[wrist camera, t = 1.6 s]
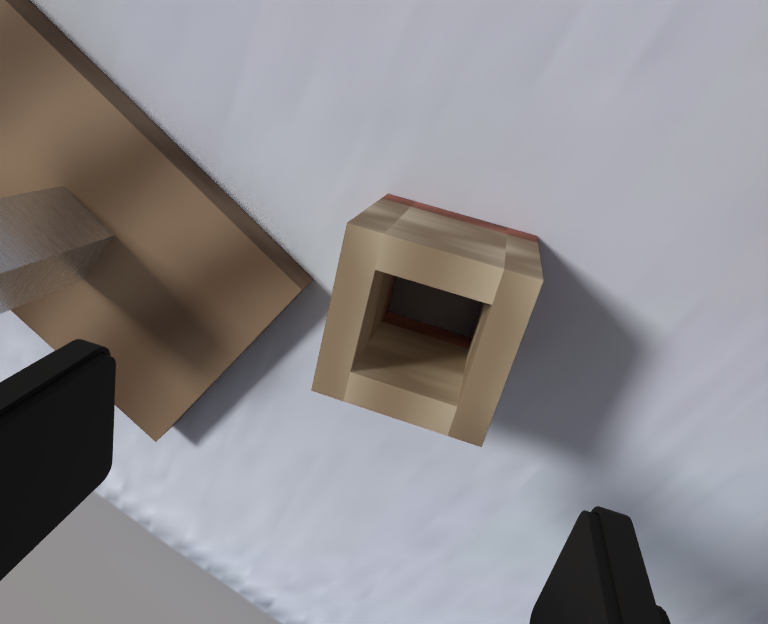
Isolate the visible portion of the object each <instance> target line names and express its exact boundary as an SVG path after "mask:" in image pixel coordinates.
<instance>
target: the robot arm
mask: <svg viewBox="0 0 768 624" xmlns="http://www.w3.org/2000/svg"><path fill="white" fill-rule="evenodd" d="M115 378H116V361H115V359H114V358H113V357H111V355H110V351H109V349H108V348H106V347H104V346H101V345H98V344H95V343H92V342H89V341H86V340H83V339H76V340H73V341H71V342H69V343H68V344H66V345H64V346H63V347H61V348H59V349H57V350H56V351H54V352H52V353H50V354H49V355H47V356H45V357H43V358H42V359H40V360H38V361H37V362H35V363H33V364H31V365H30V366H28V367H26V368H24V369H23V370H21V371H19V372H17V373H16V374H14V375H12V376H11V377H9V378H7V379H5V380H4V381H2V382H0V581H1V580H2V579H3V578H4V577H5V576H6V575H7V574H8V573H9V572H10V571H11V570H12V569H13V568H14V567H15V566H16V565H17V564H18V563H19V562H20V561H21V560H22V559H23V558H24V557H25V556H26V555H27V554H28V553H30V551H32V550H33V549H34V547H36V546H37V545H38V544H39V543H40V542H41V541H42V540H43V539H44V538H45V537H46V536H47V535H48V534H49V533H50V532H51V531H52V530H53V529H54V528H55V527H56V526H57V525H58V524H59V523H60V522H61V521H63V520H64V519H65V518H66V517H67V516H68V515H69V514H70V513H71V512H72V511H73V510H74V509H75V508H76V507H77V506H78V505H79V504H80V503H81V502H82V501H83V500H84V499H85V498H86V497H87V496H88V495H89V494H90V493H91V492H93V491H94V490H95V489H96V488H97V487H98V486H99V485H100V484H101V483H102V482H103V481H104V480H105V478H106V477H107V475H108V473H109V471H110V469H111V466H112V455H113V429H114V404H115ZM530 624H670V621H669V618H668V616H667V614H666V612H665V611H664V610H663V609H662V607H660V606H657V605H656V603H655V599H654V596H653V592H652V589H651V585H650V582H649V579H648V575H647V572H646V568H645V565H644V561H643V558H642V554H641V551H640V548H639V544H638V541H637V537H636V534H635V530H634V527H633V523H632V521H631V519H630V517H628V516H627V515H624V514H621V513H618V512H614V511H611V510H608V509H605V508H602V507H599V506H597V507H595V508H594V509H593V510H592V511H591V512H588V511H582V512H581V514H580V515H579V517H578V519H577V521H576V523H575V525H574V527H573V529H572V531H571V533H570V535H569V537H568V539H567V541H566V543H565V545H564V547H563V549H562V551H561V553H560V555H559V557H558V559H557V561H556V563H555V565H554V567H553V569H552V571H551V574H550V576H549V578H548V580H547V582H546V584H545V586H544V588H543V590H542V592H541V594H540V596H539V598H538V600H537V602H536V604H535V606H534V608H533V610H532V614H531V618H530Z"/></svg>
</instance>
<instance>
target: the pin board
mask: <svg viewBox="0 0 768 624" xmlns="http://www.w3.org/2000/svg"><path fill="white" fill-rule="evenodd" d="M60 186H64V187H65V188H66V189H67V190H68V191H70V192H71V193H72V194H73V195H74V196H75V197H76V198H77V199H78V200H79V201H80V202H81V203H82V204H83V205H84V206H85V207H86V208H87V209H89V210H90V211H91V212H92V213H93V214H94V215H95V216H96V217H97V218H98V219H99V220H100V221H101V222H102V223H103V224H104V225H105V226H106V227H107V228H109V229H110V230H111V231H112V232H113V233H114V234H115V237H114V238H113V239H112V241H111V242H110V244H109V245H108V246H107V248H106V249H105V251H104V252H103V254H102V255H101V256H100V258H99V259H98V261H97V262H96V263H95V265H94V266H93V268H92V269H91V270H90V272H89V273H88V275H87V276H86V277H85V279H84V280H81V281H79V282H77V283H74V284H72V285H69V286H67V287H64V288H62V289H60V290H57V291H55V292H52V293H50V294H47V295H45V296H43V297H40V298H38V299H35V300H33V301H30V302H28V303H26V304H23V305H21V306H18V307H16V308H13V309H11V311H12V312H13V313H14V314H16V315H17V316H18V317H19V318H20V319H21V320H22V321H23V322H24V323H25V324H27V325H28V326H29V327H30V328H31V329H32V330H33V331H34V332H35V333H36V334H38V335H39V336H40V337H41V338H42V339H43V340H44V341H45V342H46V343H47V344H49V345H50V346H51V347H52V348H53V349H54V350H55V351H56V350H57V349H59V348H61V347H63V346H64V345H66V344H68V343H69V342H71V341H73V340H76V339H83V340H86V341H89V342H92V343H95V344H98V345H101V346H104V347H106V348H108V349H109V351H110V355H111V357H113V358H114V359H115V361H116V378H115V405H116V406H117V407H118V408H119V409H120V410H121V411H122V412H123V413H124V414H126V415H127V416H128V417H129V418H130V419H131V420H132V421H133V422H134V423H135V424H137V425H138V426H139V427H140V428H141V429H142V430H143V431H144V432H145V433H146V434H148V435H149V436H150V437H151V438H152V439H153V440H154V441H155V442H156V441H157V440H158V439H159V438H161V437H162V436H163V435H164V434H165V433H166V432H167V431H168V430H169V429H170V428H171V427H172V426H173V425H174V424H175V423H176V422H177V421H178V420H179V419H180V418H181V417H182V416H183V415H184V414H185V413H186V412H187V411H188V410H189V409H190V407H191V406H192V405H193V404H194V403H195V402H196V401H197V400H198V399H199V398H200V397H201V396H202V395H203V394H204V393H205V392H206V391H207V390H208V389H209V388H210V387H211V386H212V385H213V384H214V383H215V381H216V380H217V379H218V378H219V377H220V376H221V375H222V374H223V373H224V372H225V371H226V370H227V369H228V368H229V367H230V366H231V365H232V364H233V363H234V362H235V361H236V360H237V359H238V358H239V357H240V355H241V354H242V353H243V352H244V351H245V350H246V349H247V348H248V347H249V346H250V345H251V344H252V343H253V342H254V341H255V340H256V339H257V338H258V337H259V336H260V335H261V334H262V333H263V332H264V330H265V329H266V328H267V327H268V326H269V325H270V324H271V323H272V322H273V321H274V320H275V319H276V318H277V317H278V316H279V315H280V314H281V313H282V312H283V311H284V310H285V309H286V308H287V307H288V306H289V304H290V303H291V302H292V301H293V300H294V299H295V298H296V297H297V296H298V295H299V294H300V293H301V292H302V291H303V290H304V289H305V288H306V287H307V286H308V285H309V284H310V283H311V282H312V281H313V280H314V279H313V278H312V277H311V276H310V275H309V274H308V273H307V272H306V271H305V270H304V269H303V268H301V267H300V266H299V265H298V264H297V263H296V262H295V261H294V260H293V259H292V258H291V257H290V256H289V255H288V254H287V253H286V252H285V251H284V250H283V249H282V248H281V247H280V246H279V245H278V244H277V243H276V242H275V241H274V240H273V239H272V238H271V237H270V236H269V235H268V234H267V233H266V232H265V231H264V230H263V229H262V228H261V227H260V226H259V225H258V224H257V223H256V222H255V221H254V220H253V219H252V218H251V217H250V216H249V215H248V214H247V213H245V212H244V211H243V210H242V209H241V208H240V207H239V206H238V205H237V204H236V203H235V202H234V201H233V200H232V199H231V198H230V197H229V196H228V195H227V194H226V193H225V192H224V191H223V190H222V189H221V188H220V187H219V186H218V185H217V184H216V183H215V182H214V181H213V180H212V179H211V178H210V177H209V176H208V175H207V174H206V173H205V172H204V171H203V170H202V169H201V168H200V167H199V166H198V165H197V164H196V163H195V162H194V161H193V160H192V159H190V158H189V157H188V156H187V155H186V154H185V153H184V152H183V151H182V150H181V149H180V148H179V147H178V146H177V145H176V144H175V143H174V142H173V141H172V140H171V139H170V138H169V137H168V136H167V135H166V134H165V133H164V132H163V131H162V130H161V129H160V128H159V127H158V126H157V125H156V124H155V123H154V122H153V121H152V120H151V119H150V118H149V117H148V116H147V115H146V114H145V113H144V112H143V111H142V110H141V109H140V108H139V107H138V106H137V105H135V104H134V103H133V102H132V101H131V100H130V99H129V98H128V97H127V96H126V95H125V94H124V93H123V92H122V91H121V90H120V89H119V88H118V87H117V86H116V85H115V84H114V83H113V82H112V81H111V80H110V79H109V78H108V77H107V76H106V75H105V74H104V73H103V72H102V71H101V70H100V69H99V68H98V67H97V66H96V65H95V64H94V63H93V62H92V61H91V60H90V59H89V58H88V57H87V56H86V55H85V54H84V53H83V52H82V51H81V50H79V49H78V48H77V47H76V46H75V45H74V44H73V43H72V42H71V41H70V40H69V39H68V38H67V37H66V36H65V35H64V34H63V33H62V32H61V31H60V30H59V29H58V28H57V27H56V26H55V25H54V24H53V23H52V22H51V21H50V20H49V19H48V18H47V17H46V16H45V15H44V14H43V13H42V12H41V11H40V10H39V9H38V8H37V7H36V6H35V5H34V4H33V3H32V2H31V1H30V0H0V197H6V196H11V195H17V194H22V193H27V192H33V191H38V190H43V189H49V188H54V187H60Z"/></svg>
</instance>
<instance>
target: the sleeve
mask: <svg viewBox="0 0 768 624" xmlns="http://www.w3.org/2000/svg"><path fill="white" fill-rule="evenodd" d="M397 276H398V277H401V278H404V279H407V280H411V281H414V282H417V283H421V284H424V285H427V286H431V287H434V288H437V289H441V290H444V291H447V292H451V293H454V294H457V295H461V296H464V297H467V298H470V299H474V300H477V301H480V302H483V303H482V306H481V309H480V312H479V315H478V318H477V321H476V324H475V327H474V330H473V333H472V336H471V337H468V336H464V335H461V334H458V333H455V332H451V331H448V330H445V329H442V328H439V327H435V326H432V325H429V324H426V323H422V322H419V321H416V320H413V319H409V318H406V317H403V316H400V315H397V314H393V313H390V312H388V308H389V304H390V300H391V296H392V292H393V289H394V285H395V281H396V277H397ZM543 281H544V280H543V273H542V266H541V260H540V253H539V246H538V239H537V236H535V235H532V234H528V233H525V232H521V231H517V230H514V229H510V228H507V227H503V226H500V225H496V224H493V223H489V222H486V221H482V220H479V219H475V218H472V217H468V216H465V215H461V214H458V213H454V212H451V211H447V210H444V209H440V208H437V207H433V206H430V205H426V204H422V203H419V202H415V201H412V200H408V199H405V198H401V197H398V196H394V195H391V194H387V195H385V196H384V197H383V198H381V199H380V200H378V201H377V202H376V203H374V204H373V205H371V206H370V207H369V208H367V209H366V210H364V211H363V212H362V213H360V214H359V215H357V216H356V217H355V218H353V219H352V220H350V221H349V222H348V223H347V225H346V230H345V235H344V239H343V244H342V249H341V253H340V258H339V263H338V268H337V272H336V277H335V282H334V286H333V291H332V296H331V300H330V305H329V310H328V314H327V319H326V324H325V329H324V333H323V338H322V343H321V347H320V352H319V357H318V361H317V366H316V371H315V376H314V380H313V385H312V390H311V391H314V392H317V393H320V394H323V395H326V396H329V397H332V398H335V399H338V400H341V401H344V402H347V403H350V404H353V405H356V406H359V407H363V408H366V409H369V410H372V411H375V412H378V413H381V414H384V415H387V416H390V417H393V418H396V419H399V420H402V421H405V422H408V423H411V424H414V425H417V426H420V427H423V428H426V429H429V430H432V431H435V432H438V433H441V434H444V435H447V436H450V437H453V438H456V439H459V440H462V441H465V442H468V443H471V444H474V445H477V446H480V447H482V444H483V442H484V439H485V436H486V434H487V431H488V428H489V426H490V423H491V420H492V418H493V415H494V412H495V410H496V407H497V404H498V401H499V399H500V396H501V393H502V391H503V388H504V385H505V383H506V380H507V377H508V375H509V372H510V369H511V367H512V364H513V361H514V359H515V356H516V353H517V351H518V348H519V345H520V343H521V340H522V337H523V334H524V332H525V329H526V326H527V324H528V321H529V318H530V316H531V313H532V310H533V308H534V305H535V302H536V300H537V297H538V294H539V292H540V289H541V286H542V284H543Z"/></svg>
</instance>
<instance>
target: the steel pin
mask: <svg viewBox="0 0 768 624" xmlns="http://www.w3.org/2000/svg"><path fill="white" fill-rule="evenodd" d="M114 237H115V234H114V233H113V232H112V231H111V230H110V229H109V228H107V227H106V226H105V225H104V224H103V223H102V222H101V221H100V220H99V219H98V218H97V217H96V216H95V215H94V214H93V213H92V212H91V211H90V210H89V209H87V208H86V207H85V206H84V205H83V204H82V203H81V202H80V201H79V200H78V199H77V198H76V197H75V196H74V195H73V194H72V193H71V192H70V191H68V190H67V189H66V188H65V187H64V186H60V187H54V188H49V189H43V190H38V191H33V192H27V193H22V194H17V195H11V196H6V197H0V314H1V313H4V312H6V311H8V310H11V309H13V308H16V307H18V306H21V305H23V304H26V303H28V302H30V301H33V300H35V299H38V298H40V297H43V296H45V295H47V294H50V293H52V292H55V291H57V290H60V289H62V288H64V287H67V286H69V285H72V284H74V283H77V282H79V281H81V280H84V279H85V277H86V276H87V275H88V273H89V272H90V270H91V269H92V268H93V266H94V265H95V263H96V262H97V261H98V259H99V258H100V256H101V255H102V254H103V252H104V251H105V249H106V248H107V246H108V245H109V244H110V242H111V241H112V239H113V238H114Z"/></svg>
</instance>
